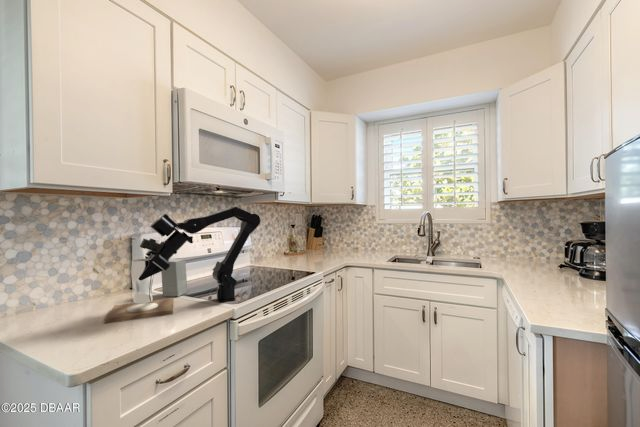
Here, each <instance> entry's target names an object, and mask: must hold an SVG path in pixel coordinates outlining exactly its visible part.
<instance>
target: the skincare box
mask: <svg viewBox="0 0 640 427" xmlns="http://www.w3.org/2000/svg"><path fill="white" fill-rule="evenodd" d="M168 262H169V263H170V267H169V268H168V269H167V270H166V271H165V270H164V269H163V268H162V269H163V271H161V288H162V297H175V296H178V297H181V296H183V295H186V294H188V279H187V278H188V277H187V264H186V259H185V258H179V259H178V258H170V259H169V261H168Z"/></svg>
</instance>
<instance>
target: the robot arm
mask: <svg viewBox="0 0 640 427" xmlns="http://www.w3.org/2000/svg"><path fill="white" fill-rule="evenodd" d="M232 218H235V219H237V220H239V221H240V222H241V223H240V230H239V231H238V234H236V237H235V239H234V240H233V242H232V245H231V246H230V248H229V250H228V251H227V253H226V255H225V256H224V258H223V259H222V260H221V262H220V261H216V263H215V266H214V267H213V268H212V273H211V274H212V278H213V279H214V280H215V281H216V282H217V288H216V299H217V300H218V302H219V303H223V302H231V301H236V297H235V292H236V291H235V290H236V289H235V286H236V285H237V282H238V281H237V280H236V279H235V278H234V277H233V276H232V275H233V271H234V267H235V266H234V265H235V262H236V261H237V259H238V257H239V255H240V253H241V252H242V250H243V248H244V245H245V244H246V242H247V240H248V238H249V236H250V235H251V234H252V233H253V232H254V231H256V229H257V228H258V227H259V225H260V224H261V220H262V219H261V217H260V215H258V214H257V213H251V212H249V211H247V210H244V209H242V208H240V207H239V206H232V207H229V208H227V209H224V210H221V211H218V212H215V213H212V214H208V215H206V216H200V217H194V218H187V219H185V220H184V221H183V222H176V221H174V220H173V219H171V217H170V216H169V215H168V214H166V213H164V214H163V215H162V216H160V217H159V218H158V219H157V218H156V220H155V221H153V222H152V224H150V227H149V228H151V229H153V230H154V231H155V232H156V233H158V234H159V235H160V236H161V237H164V236H165V237H167V239H165V240H164V241H160V243H158V242H157V240H156V239H154V238H150V239H146V238H143V239H142V241H141V243H140V245H139V247H140V248H141V249H147V250H148V251H147V252H146V253H145V256H144V257H145V258H144V259H148V266H147V268H146V269H145V270H144V272H143V273H142V274H141V276H140V277H139V278H138V279H139V280H140V281H141V280H144V279H146V278H148V277H150V276H152V275H154V276H155V275H157V274H158V273H160V272H161V271H163V269H164V270H165V271H166V270H167V269H168V268H169V267H170V263H169V262H168V261H169V260H170V259H172V257H173V256H174V255H177V253H178V250H180V249H181V248H182V247H183V245H185V244H186V243H187V242H188V243H189V244H193V243H194V241H193V238H194V237H193V234H197V233H199V232H200V231H202V230H204V229H206V228H207V227H209V226H210V225H213V224H216V223H220V222H222V221H225V220H228V219H232ZM179 230H183V231H182V232H181V231H179ZM187 233H188V234H192V236H189V235H188V234H187ZM149 259H151V260H152V261H153V262H152V261H151V260H149ZM162 268H163V269H162Z"/></svg>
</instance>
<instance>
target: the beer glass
mask: <svg viewBox="0 0 640 427" xmlns="http://www.w3.org/2000/svg"><path fill="white" fill-rule="evenodd" d="M149 260H151V259H149ZM151 261H152V260H151ZM152 262H153V261H152ZM147 266H148V259H145V258H138V259H133V260H131V268H130V272H131V273H130V274H131V275H130V276H131V277H130V278H131V282H132V286H133V292H134V293H133V294H134V297H133V300H132V303H134V304H144V303H149V302H151V301H154V297H153V294H152V293H153V292H152V291H153V290H152V289H153V282H154V277H155V274H154V275H152V276H150V277H148V278H146V279H144V280H141V281H140V280H139V279H138V278H139V277H140V276H141V274H142V273H143V272H144V270H145V269H146V268H147Z"/></svg>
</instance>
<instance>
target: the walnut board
mask: <svg viewBox="0 0 640 427" xmlns="http://www.w3.org/2000/svg"><path fill="white" fill-rule="evenodd" d="M174 303H175V301H174V298H166V299H157V300H153V301H151V302H149V303H144V304H134V303H133V302H132V303H124V304H115V305H113V307H112V308H111V310H110V311H109V313H108V314H107V315H106V316H105V318H104V324H109V323H117V322H118V323H119V322H124V321H133V320H140V319H147V318H154V317H162V316H169V315H174V313H173V312H174Z"/></svg>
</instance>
